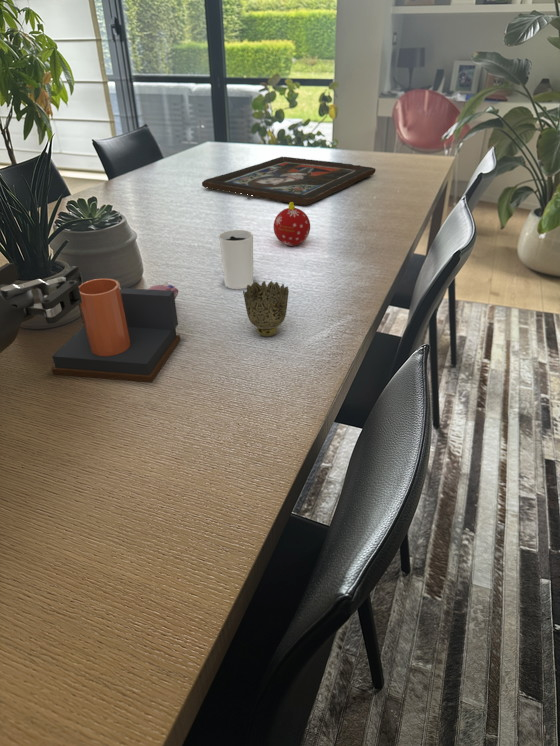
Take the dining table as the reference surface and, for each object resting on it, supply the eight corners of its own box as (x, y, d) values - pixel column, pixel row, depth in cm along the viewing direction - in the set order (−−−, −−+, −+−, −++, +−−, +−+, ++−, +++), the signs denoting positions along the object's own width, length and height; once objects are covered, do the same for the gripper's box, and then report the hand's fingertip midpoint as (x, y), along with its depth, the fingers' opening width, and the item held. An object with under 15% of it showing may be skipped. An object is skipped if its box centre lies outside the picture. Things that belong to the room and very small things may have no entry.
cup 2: (281, 346, 90) (279, 301, 85) (239, 340, 92) (236, 296, 87) (294, 325, 95) (294, 283, 91) (255, 320, 98) (252, 278, 93)
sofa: (52, 374, 84) (37, 321, 79) (92, 333, 95) (80, 285, 90) (151, 382, 81) (141, 328, 77) (180, 340, 92) (173, 290, 87)
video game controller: (139, 334, 98) (146, 306, 93) (120, 318, 98) (127, 289, 94) (176, 312, 104) (185, 285, 100) (159, 298, 105) (167, 270, 100)
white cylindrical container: (217, 287, 110) (212, 239, 105) (231, 275, 115) (227, 228, 110) (247, 291, 108) (244, 242, 103) (260, 279, 113) (258, 231, 108)
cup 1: (83, 354, 83) (68, 293, 77) (101, 336, 88) (88, 277, 82) (120, 357, 82) (108, 296, 76) (136, 338, 87) (125, 279, 81)
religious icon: (198, 191, 175) (197, 181, 173) (279, 164, 205) (279, 155, 204) (305, 209, 155) (305, 198, 153) (377, 176, 186) (377, 166, 184)
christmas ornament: (266, 246, 130) (265, 203, 124) (288, 236, 136) (287, 195, 130) (296, 253, 125) (295, 209, 120) (317, 242, 131) (317, 200, 126)
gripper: (11, 305, 50) (93, 244, 64) (-123, 297, 53) (-17, 239, 66) (33, 374, 54) (105, 303, 68) (-92, 363, 57) (1, 297, 70)
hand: (45, 272), depth 67 cm, fingers open, 8 cm apart
